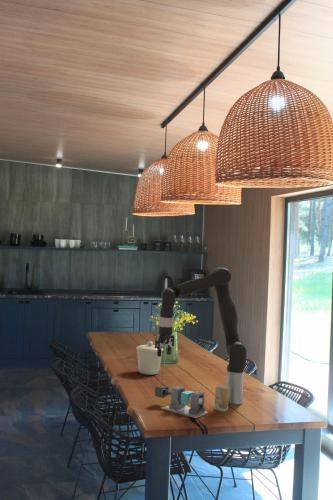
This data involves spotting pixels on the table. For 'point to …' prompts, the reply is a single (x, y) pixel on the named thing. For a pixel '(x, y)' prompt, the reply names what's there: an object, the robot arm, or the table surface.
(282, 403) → the table surface
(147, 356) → the canister
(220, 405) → the skincare box
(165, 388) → the shaft
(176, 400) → the bearing stand
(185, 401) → the spacer
